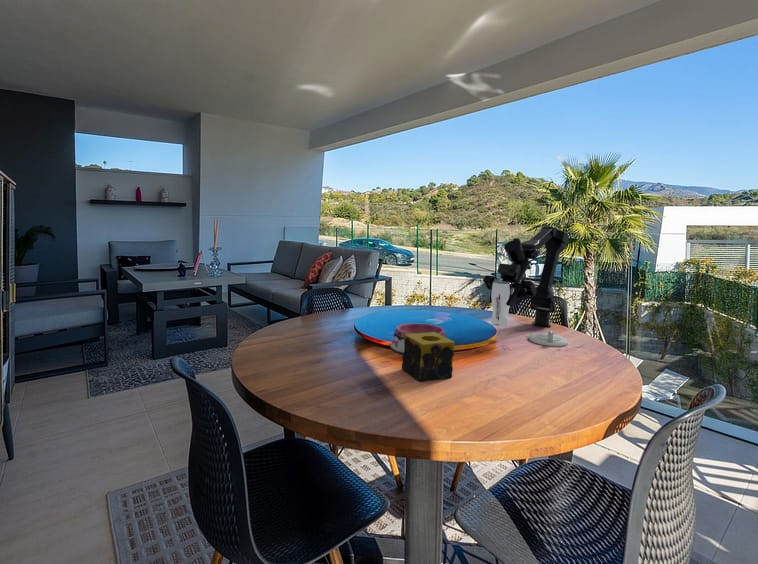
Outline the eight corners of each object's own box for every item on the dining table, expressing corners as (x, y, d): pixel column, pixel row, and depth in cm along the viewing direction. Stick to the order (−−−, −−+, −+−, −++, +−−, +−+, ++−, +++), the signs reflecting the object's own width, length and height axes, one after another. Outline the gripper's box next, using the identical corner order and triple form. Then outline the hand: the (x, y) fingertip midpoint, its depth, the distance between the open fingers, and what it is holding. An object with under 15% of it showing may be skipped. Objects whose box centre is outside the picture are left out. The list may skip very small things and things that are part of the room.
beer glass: (512, 327, 145) (515, 284, 142) (492, 326, 145) (495, 283, 142) (506, 322, 152) (509, 281, 149) (487, 321, 152) (490, 280, 149)
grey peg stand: (527, 334, 156) (528, 322, 155) (565, 338, 152) (566, 326, 152) (529, 343, 144) (530, 330, 143) (570, 348, 140) (572, 334, 139)
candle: (400, 369, 114) (402, 333, 112) (433, 365, 118) (435, 331, 116) (418, 383, 104) (420, 344, 103) (453, 378, 108) (455, 341, 107)
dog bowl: (382, 342, 140) (383, 322, 139) (433, 339, 145) (434, 320, 144) (402, 359, 122) (403, 337, 121) (458, 356, 128) (460, 334, 127)
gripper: (487, 253, 154) (468, 285, 148) (535, 257, 141) (516, 293, 135) (497, 273, 161) (479, 304, 155) (544, 279, 147) (526, 313, 141)
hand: (499, 303), depth 146 cm, fingers closed on beer glass, 7 cm apart
